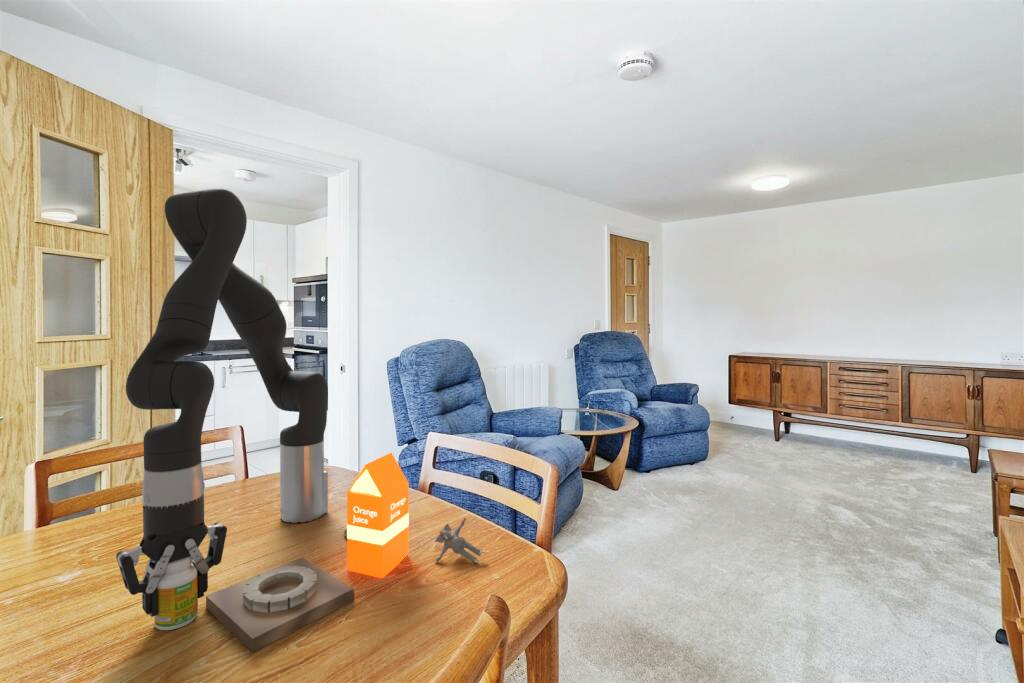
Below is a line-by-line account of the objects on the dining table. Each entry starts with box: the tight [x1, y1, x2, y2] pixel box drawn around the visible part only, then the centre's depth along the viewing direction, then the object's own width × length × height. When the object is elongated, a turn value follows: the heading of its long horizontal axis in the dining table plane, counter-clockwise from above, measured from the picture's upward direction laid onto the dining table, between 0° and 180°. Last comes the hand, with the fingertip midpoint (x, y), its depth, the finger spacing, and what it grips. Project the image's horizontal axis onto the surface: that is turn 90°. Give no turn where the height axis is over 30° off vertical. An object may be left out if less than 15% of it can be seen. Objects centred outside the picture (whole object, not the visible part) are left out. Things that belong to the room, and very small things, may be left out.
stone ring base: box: [205, 557, 355, 653], centre depth 78 cm, size 16×16×4 cm
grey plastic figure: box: [434, 517, 483, 564], centre depth 94 cm, size 10×6×9 cm
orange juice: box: [346, 452, 410, 579], centre depth 91 cm, size 8×9×20 cm
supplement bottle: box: [154, 556, 199, 631], centre depth 74 cm, size 5×5×10 cm
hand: (176, 604), depth 74 cm, fingers closed on supplement bottle, 5 cm apart
